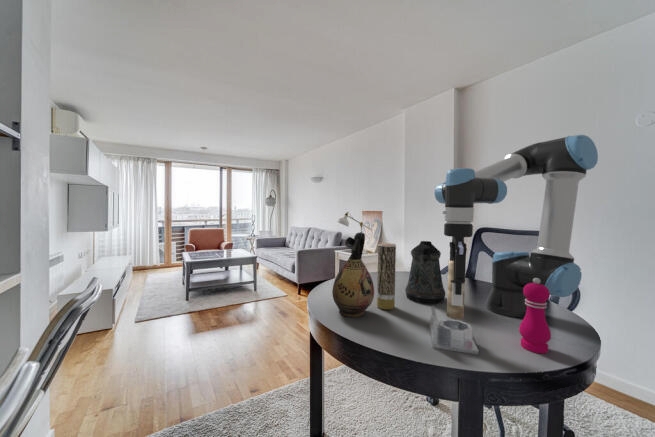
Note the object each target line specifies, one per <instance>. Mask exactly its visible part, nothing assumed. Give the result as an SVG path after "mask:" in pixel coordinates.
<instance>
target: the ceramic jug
mask: <svg viewBox="0 0 655 437" xmlns="http://www.w3.org/2000/svg"><path fill="white" fill-rule="evenodd" d="M365 241H366V235H365V233H364V232H362V231H360V232H356V233H355V235H354V238H352V237H351V236H350V237H349V236H348V237H347V238H346V240H345V241H344V245H345V246H346V247H347V248H348V249H350V250H351V254H350V256H349V257H348V259H347V260H346V261H345V263H344V264H343V266H342V267H341V268H340V270H339V271H338V273H337V275H336V277H335V279H334V281H333V284H332V285H333V286H332V290H331V291H332V292H331V295H332V299H333V301H334V303H335V306H336V307H337V308H338V313H339V314H340V315H342V316H343V317H352V318H357V317H362V316H364V314H365V312H366V311H367V309H368V308H369V307H370V306H371V304H372V303H373V300H374V296H375V287H374V282H373V278H372V276H371V275H370V272H369V270H368V268H367V267H366V265H365V263H364V261H363V260H362V258H363V252H364V247H365Z"/></svg>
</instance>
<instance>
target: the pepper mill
mask: <svg viewBox="0 0 655 437" xmlns="http://www.w3.org/2000/svg"><path fill="white" fill-rule="evenodd" d="M540 282H541V281H540V279H539V278H534V279H533V283H529V284H527V285H526V286H525V287H524V289H523V294H524V295H525V297H526V298H527V299H525V304H526V305H527V310H526V315H525V317H523V319H522V321H521V322H520V325H519V329H518V330H519V331H518V332H519V334H520V335H521V338H520V346H521V348H523V349H525V350H526V351H528V352H532V353H535V354H547V353H548V351H549V344H548V342H550V341H551V338H552V334H551V330H550V327H549V325H548V323H547V322H548V321H547V319H546V313H545V312H546V309H547V308H548V307H547V306H548V303H547V301H549V298H550V297H551V295H550V292H549V290H548V288H547V287H546V286H544V285H542V284H540Z"/></svg>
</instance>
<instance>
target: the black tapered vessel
mask: <svg viewBox="0 0 655 437" xmlns="http://www.w3.org/2000/svg"><path fill="white" fill-rule="evenodd" d="M410 255H411V257H412V259H411V263H410V268H409V275H408V276H409V277H408V282H407V285H406V286H405V288H404V289H405V294H406V299H407V300H409V301H412V302H414V303H417V304H418V303H419V304H424V305H439V304H443V303H444V301H445V298H446V291H445V288H444V284H443V278H442V273H441V272H442V271H441V265H440V258H441V255H442V253H441V251H440V250H439V249H438V248H437V247H436V246H435V245H433V244H432V241H431V240H430V241H427V240H421V241H420V242H419V244H417V245H416V246H415V247H414V248H412V249H411V250H410Z"/></svg>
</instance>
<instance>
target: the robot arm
mask: <svg viewBox="0 0 655 437" xmlns="http://www.w3.org/2000/svg"><path fill="white" fill-rule="evenodd" d="M598 161H599V154H598V149H597V146H596V143H595V142H594V141H593V139H592V138H590V137H589V136H588V135H585V134H578V135H577V134H576V135H568V136H565V137H561V138H556V139H550V140H546V141H541V142H535V143H532V144H529V145H528V146H525V147H522V148H520V149H519V150H516V151H514V152H512V153H510V154H507V155H505V156H504V157H503V158H502V160H500V161H497V162H495V163H492V164H490V165H487V166H485V167H483V168H480V169H479V170H474V169H473V168H466V167H463V168H462V167H461V168H452V169H449V170H448V171H447V172H446V175H445V182H441V183H439V184H438V185H437V186H436V187H435V189H434V198H435V200H436V201H437V202H438V203H440V204H444V208H445V209H444V210H443V211H442V214H443V215H444V221H445V223H444V225H443V228H444V230H443V235H444V236H446V237H452V238H451V241H449V245H448V246H449V261H454V280H451V283H452V305H456V306H463V283H465V284H466V266H467V265H466V264H467V263H466V260H467V250H468V249H467V243H465V238H471V237H473V236H474V235H473V233H474V226H473V224H472V223H473V222H474V212H475V211H474V210H475V209H474V207H475V206H474V205H475V204H489V205H490V204H491V205H492V204H499V203H501V202H502V201H503V200H504V199H505V198H506V196H507V195H508V187H507V184H506V181H509V180H510V179H519V178H521V177H525V176H532V175H541V177H542V178H543V179H544V180H545V181H546V182H545V190H544V196H543V197H544V198H543V202H542V203H543V204H542V212H541V218H540V225H539V231H538V239H537V245H536V248H535V249H533V250H532V251H530V252H529V251H524V250H523V251H519V250H517V251H514V250H513V251H510V250H509V251H496V252H495V253H493V256H492V262H491V263H492V269H491V270H492V271H491V273H492V275H491V290H490V291H489V295H488V296H487V299H486V301H485V302H486V303H485V305H486V306H485V307H486V308H487V309H488V310H489V311H491V312H493V313H496V314H499V315H502V316H507V317H513V318H524V317H525V315H526V310H527V305H526V304H525V299H527V298H526V297H525V295H524V294H523V289H524V287H525V286H526V285H527V284H529V283H533V279H534V278H539V279H540V281H541V282H540V284H542V285H544V286H546V287H547V288H548V290H549V292H550V296H554V297H559V298H566V297H569V296H571V295H572V294H574V293H575V292H576V291H577V289H578V288H579V286H580V284H581V281H582V271H581V270H582V269H581V267H580V265H578V264H576V263H574V262H575V257H574V256H573V255H572V254H571V253H570V248H571V241H572V240H571V239H572V233H573V228H574V227H573V226H574V219H575V213H576V212H575V211H576V205H577V204H576V203H577V198H578V191H579V190H578V189H579V183H580V181H582V180H583V179H584V178H586V176H587V170H588V171H589V170H591V169H594V168H596V165H597V164H598Z"/></svg>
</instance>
